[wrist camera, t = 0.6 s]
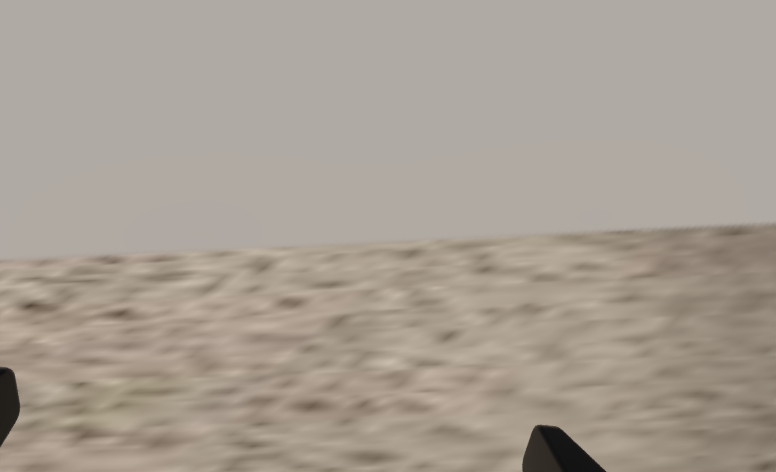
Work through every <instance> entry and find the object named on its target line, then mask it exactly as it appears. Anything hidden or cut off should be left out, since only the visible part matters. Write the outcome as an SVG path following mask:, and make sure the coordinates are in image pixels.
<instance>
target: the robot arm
mask: <svg viewBox="0 0 776 472" xmlns="http://www.w3.org/2000/svg"><path fill="white" fill-rule="evenodd" d="M19 412H20V402H19V396H18V390H17V384H16V378H15V374H14V372H13V371H12V370H11V369H9V368H6V367H0V447H1V445H2V444H3V442H4V440H5V439H6V437H7V436H8V434H9V432H10V431H11V429H12V427H13V426H14V424H15V422H16V420H17V418H18V416H19ZM522 470H523V472H606V471H605V470H604V469H603V468H602V467H601V466H600V465H599V464H598V463H597V462H596V461H595V460H593V459H592V458H591V457H590V456H589V455H588V454H587V453H586V452H585V451H584V450H583V449H582V448H581V447H580V446H579V445H578V444H577V443H575V442H574V441H573V440H572V439H571V438H570V437H569V436H568V435H567V434H566V433H565V432H564V431H563V430H562V429H560V428H559V427H556V426H548V425H537V426H535V427H534V429H533V431H532V434H531V437H530V439H529V442H528V445H527V448H526V451H525V454H524V457H523V464H522Z"/></svg>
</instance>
